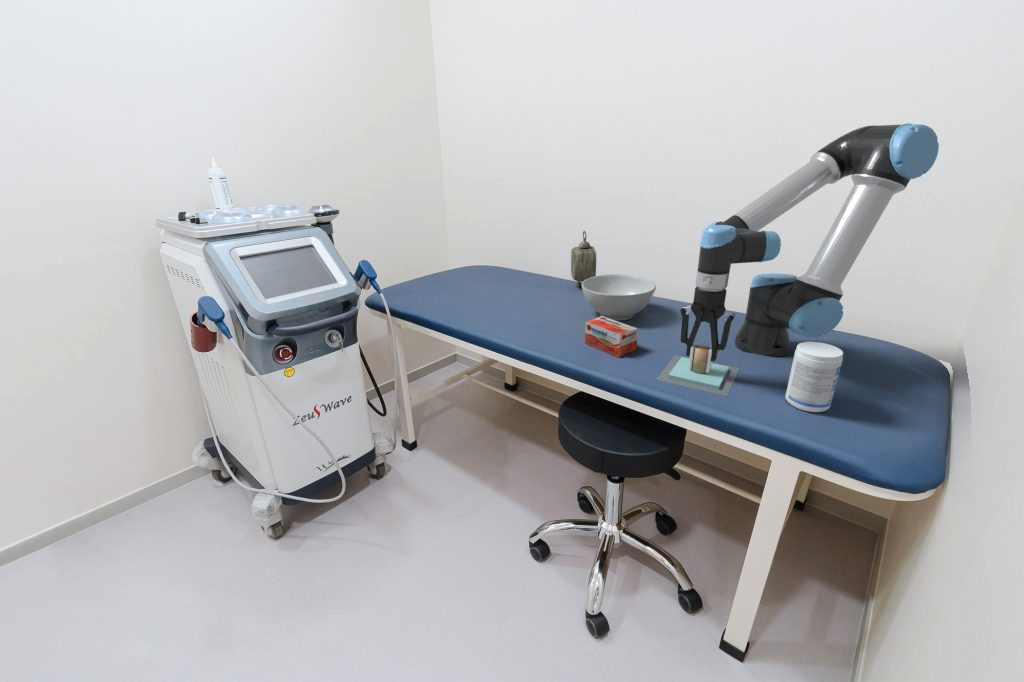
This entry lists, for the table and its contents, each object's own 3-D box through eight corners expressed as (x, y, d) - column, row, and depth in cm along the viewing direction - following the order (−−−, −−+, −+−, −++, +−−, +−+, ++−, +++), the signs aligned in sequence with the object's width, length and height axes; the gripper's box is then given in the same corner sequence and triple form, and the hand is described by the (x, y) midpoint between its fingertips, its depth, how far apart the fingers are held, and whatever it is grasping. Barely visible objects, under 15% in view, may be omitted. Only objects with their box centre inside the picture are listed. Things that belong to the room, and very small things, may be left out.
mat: (674, 356, 140) (674, 355, 140) (739, 369, 131) (739, 368, 131) (656, 381, 126) (656, 379, 126) (726, 398, 117) (727, 396, 117)
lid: (681, 359, 137) (684, 335, 133) (728, 369, 130) (732, 343, 127) (668, 377, 127) (671, 351, 124) (718, 389, 120) (723, 362, 117)
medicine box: (636, 351, 145) (638, 327, 142) (619, 358, 140) (621, 334, 137) (600, 337, 156) (601, 315, 153) (583, 343, 151) (584, 321, 148)
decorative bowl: (646, 303, 186) (649, 274, 181) (659, 328, 161) (662, 295, 156) (579, 303, 188) (580, 274, 184) (582, 327, 164) (583, 295, 159)
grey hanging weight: (595, 291, 203) (597, 233, 193) (574, 292, 203) (575, 234, 193) (589, 282, 216) (591, 227, 206) (570, 282, 216) (571, 228, 206)
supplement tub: (837, 415, 108) (853, 358, 103) (793, 412, 110) (806, 357, 104) (818, 394, 117) (832, 341, 111) (778, 392, 119) (790, 340, 113)
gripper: (673, 286, 120) (664, 367, 129) (744, 296, 111) (729, 381, 120) (681, 279, 126) (672, 357, 135) (749, 288, 117) (735, 370, 126)
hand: (699, 368), depth 128 cm, fingers closed on lid, 4 cm apart
